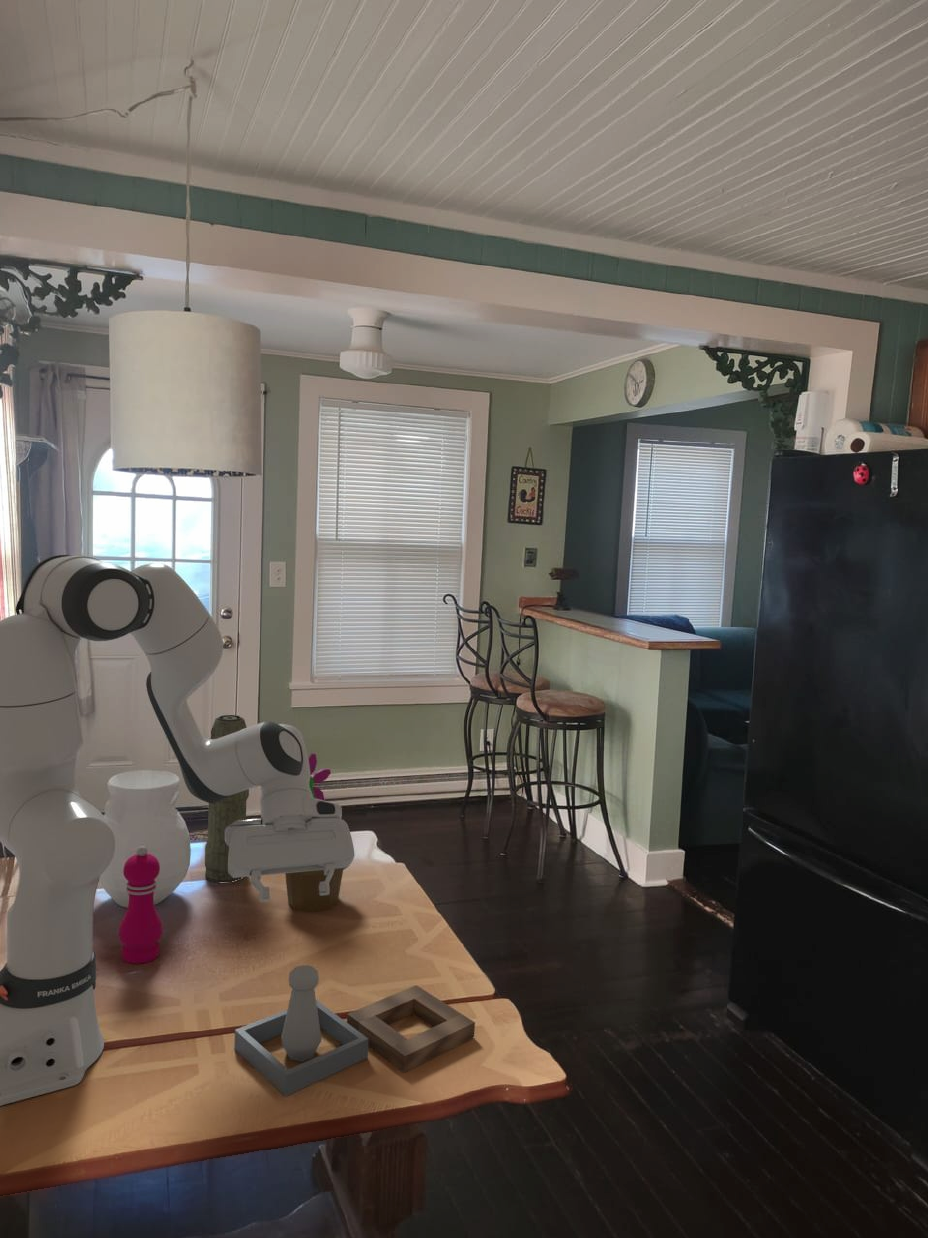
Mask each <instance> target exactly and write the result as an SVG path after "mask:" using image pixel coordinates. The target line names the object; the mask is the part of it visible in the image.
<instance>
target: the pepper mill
mask: <svg viewBox="0 0 928 1238" xmlns="http://www.w3.org/2000/svg"><path fill="white" fill-rule="evenodd" d="M159 871H160V865H159V862H158V860H157V858H156V857H154V856H153V855H151V854H147V848H146V847H145V846H140V847H139V848H138V849H137V854H136V855H133V856H132V857H130V858H129V859H128V860H127V861H126V863H125V865H124V870H123V874H124V877H125V878H126V879H127V880H128V882H127V883H126V886H127V888H126V891H127V892H128V893H129V905H128V908H126V911H125V914H124V916H123V918H122V920H121V922H120V926H119V931H118V939H119V941H120V942H121V943H122V944H123V945H122V946H121V956H120V957H121V959H122V961H124V962H125V963H128V964H131V965H133V964H135V965H137V964H138V965H139V964H144V963H149V962H151V961H153V960H155V959H156V958H158V956H159V954H160V944H159V942H158V941H159V940H160V938H161V937H162V935H163V924H162V920H161V917H160V915H159V914H158V911H157V909H156V908H155V905H154V899H153V895H154V891H155V890H156V888H157V887H156V883H157V881H156V880H155V878H156V877H157V876H158V874H159Z"/></svg>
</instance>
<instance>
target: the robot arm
mask: <svg viewBox="0 0 928 1238" xmlns="http://www.w3.org/2000/svg"><path fill="white" fill-rule="evenodd" d="M23 583H24V584H23V587H22V590H21V591H22V592H21V595H20V596H19V597H18V598H19V599H18V601H17V603H16V605H15V613H16V614H14V615H10V616H8V617H5V618H3V619H1V620H0V843H1V844H2V845H3V846H4V847H5V848H6V849H7V850H8V851H9V852H10V853H11V854H13V856H14V857H15V859H16V862H17V866H18V871H19V873H18V874H19V876H18V877H19V878H18V885H17V889H16V894H15V898H14V902H13V903H12V904H11V905H10V907H9V908H8V911H7V914H6V962H5V963H4V966H2V969H1V970H0V1107H1V1106H4V1105H7V1104H11V1103H15V1102H20V1101H23V1100H25V1099H30V1098H32V1097H37V1096H40V1095H45V1094H48V1093H52V1092H56V1091H59V1090H63V1089H66V1088H67V1089H68V1088H70V1087H75V1086H76V1085H78V1084H79V1083H81V1082H82V1080H83V1078H84V1077H85V1074H86V1071H87V1069H88V1068H89V1067H90V1066H92V1065H93V1064H94V1063H95V1062H96V1061H97V1060H98V1058H99V1057H101V1054H102V1052H103V1050H104V1048H105V1047H104V1046H105V1041H104V1037H103V1036H102V1032H101V1028H100V1025H99V1021H98V1016H97V1010H96V1002H95V992H94V991H95V990H96V986H97V985H96V983H97V982H96V981H97V971H98V970H97V969H98V968H97V961H96V952H95V951H94V950H93V947H94V946H93V943H94V941H93V940H94V935H93V934H94V907H95V900H96V899H95V898H96V894H97V889H98V887H99V886H98V885H99V879H100V875H101V874H102V873H103V872H104V871H105V870H106V869H107V867H108V866H109V864H110V862H111V860H112V858H113V855H114V852H115V837H114V834H113V832H112V830H111V828H110V826H109V824H108V822H107V821H106V819H105V818H104V816H103V815H104V814H102V812H101V811H100V810H99V809H98V808H97V807H95V806H94V805H92V804H91V803H89V802H87V801H86V800H85V799H83V798H82V796H81V795H80V793H79V792H80V791H79V790H78V788H77V787H78V786H77V782H76V776H77V775H76V774H77V773H76V772H77V764H78V763H77V762H78V756H79V752H80V751H81V750H82V748H83V746H84V745H83V744H84V739H83V730H82V722H81V721H82V719H81V714H80V707H79V706H80V705H79V698H78V697H79V696H78V689H77V684H76V676H75V672H74V667H73V666H74V661H75V656H76V655H75V653H76V650H77V649H78V646H79V643H80V642H81V640H82V639H86V640H89V641H93V642H107V641H112V640H113V641H114V640H117V639H120V638H123V637H124V636H126V635H128V634H130V635H132V636H133V637H134V640H135V641H136V642H137V644H138V646H139V647H140V649H141V650H142V651H143V653H144V655H145V656H146V657H147V660H148V662H149V666H150V672H149V673H148V675H147V676H146V680H145V682H146V684H145V685H146V692H147V695H148V698H149V699H148V700H149V702H150V704H151V706H152V709H153V711H154V714H155V716H156V717H157V718H156V719H157V720H158V722H159V724H160V726H161V728H162V731H163V732H164V735H165V736H166V739H167V741H168V743H169V745H170V747H171V749H172V751H173V753H174V756H175V757H176V759H177V762H178V764H179V768H180V771H181V774H182V778H183V781H184V783H185V786H186V788H187V790H188V792H189V793H190V794H191V795H192V796H193V797H195V798H196V799H199V800H201V801H203V802H206V803H207V804H209V803H212V804H213V803H217V802H219V801H221V800H224V799H226V798H228V797H230V796H232V795H234V794H236V793H239V792H242V791H244V790H247V789H249V790H250V789H252V788H255V787H260V790H261V796H260V801H259V803H260V805H259V806H260V818H251V819H246V820H236V821H234V823H231V824H229V825H228V826H227V827H226V829H225V832H224V833H225V842H226V844H227V845H228V846H229V855H228V873H229V874H230V875H231V876H232V877H233V878H238V877H244V878H246V877H247V878H248V877H250V881H251V884H252V886H253V887H254V888H255V890H256V891H257V892H258V896H259V897H258V900H259V902H260V903H261V902H263V903H264V902H269V901H270V899H271V898H270V897H271V894H270V886H264V885H263V883H262V882H261V877H262V876H270V875H271V876H272V875H280V874H281V875H282V874H285V873H293V872H304V871H315V870H324V875H327V877H326V880H325V881H323V882H320V883H319V891H320V892H319V895H320V896H322V895H329V893H330V887H329V882H330V880H331V878H332V875H333V873H334V869H338V868H346V869H347V867H348V868H349V867H350V866H351V864H352V863H353V861H354V859H355V847H354V842H353V839H352V835H351V831H350V828H349V825H348V823H347V822H346V821H345V820H344V819H343V818H342V816H343V808H342V806H341V804H339V803H336V802H332V801H329V800H328V801H327V800H325V799H324V800H320V799H316V798H313V795H312V792H311V790H310V787H309V781H310V766H309V759H308V758H309V756H308V755H309V754H308V750H307V745H306V743H305V740H304V737H303V734H302V732H301V731H300V730H299V729H298V728H296V727H295V726H293V725H291V724H286V723H275V722H273V721H270V720H269V721H268V720H267V721H263V722H259V723H256V724H254V725H251V726H248V727H247V726H246V727H247V728H244V729H242V730H240V731H237V732H235V733H232V734H229V735H226V736H223V737H221V738H218V739H210V738H206V737H204V736H203V735H202V733H201V731H200V728H199V726H198V725H197V722H196V720H195V717H194V715H193V713H192V711H191V709H190V707H189V705H188V700H187V699H189V698H190V696H191V695H192V694H194V692H196V691H197V690H198V689H199V688H200V687H201V686H203V685H204V684H205V683H206V682H207V681H208V680H209V678H210V677H211V676H212V675H213V673H215V671H216V670H217V668H218V666H219V664H220V662H221V659H222V655H223V651H224V638H223V636H222V634H221V631H220V629H219V627H218V625H217V624H216V622H215V620H214V619H213V617H212V616H211V614H210V613H209V611H208V609H207V608H206V606H205V605H204V603H203V602H202V601H201V599H200V598H199V597H198V596H197V594H196V593H195V592H194V590H193V589H192V588H191V586H190V585H188V583H187V582H186V581H185V580H184V579H183V578H182V577H181V575H179V574H178V573H177V572H176V571H175V570H174V569H173V568H172V567H171V566H168V565H166V564H165V563H159V562H152V563H147V564H146V563H145V564H143V565H139V566H137V567H136V568H134V569H132V570H129V569H127V568H124V567H123V566H120V565H117V564H115V563H111V562H105V561H102V560H99V559H97V558H96V557H95V558H94V557H91V556H84V555H72V554H71V555H70V554H59V555H55V556H50V557H48V558H45V559H43V560H41V561H40V562H38V563H37V564H36V565H34V566H33V567H32V568H31V570H30V571H29V572H28V574H27V576H26V578H25V581H24V582H23ZM20 612H21V613H20ZM233 825H234V826H233ZM231 826H233V827H231Z"/></svg>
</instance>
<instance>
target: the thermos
mask: <svg viewBox="0 0 928 1238" xmlns="http://www.w3.org/2000/svg"><path fill="white" fill-rule="evenodd" d="M246 724H247V722H246V720H245V719H244V717H242V716H240V715H234V714H225V715H220V716H218V717H216V718H215V719H214V721H213V725H212V726H211V727H212V728H211V730H210V738H209V739H218V738H221V737H223V736H226V735H229V734H232V733H235V732H237V731H240V730H242V729H244V728H247V725H246ZM249 795H250V789H247V790H244V791H242V792H239V793H236V794H234V795H232V796H230V797H228V798H226V799H224V800H221V801H219V802H217V803H213V804H212V803H208V818H207V819H208V822H207V823H208V824H207V827H208V828H207V841H206V844H205V846H204V867H205V873H204V876H205V879H206V880H207V879H208V881H209V882H211V881H213V882H212V883H215V882H218V883H217V884H220V883H219V882H232V881H235V880H238V879H241V878H242V877H238V878H233V877H232V876H231V875H230V874H229V873H228V855H229V846H228V845H227V844H226V842H225V833H224V832H225V829H226V827H227V826H228V825H229V824H231V823H234V821H236V820H247V800H248V799H249ZM233 826H234V825H233ZM233 826H231V827H233ZM232 883H233V882H232Z"/></svg>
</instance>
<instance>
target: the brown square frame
mask: <svg viewBox="0 0 928 1238" xmlns="http://www.w3.org/2000/svg"><path fill="white" fill-rule="evenodd" d="M413 1014H414V1016H416V1017H418V1018H419V1019H421V1020H423V1021H424V1022H425V1023H427V1024H428V1025H430V1026H432V1027H431V1028H429V1029H426V1030H424V1031H421V1032H420V1033H418V1034H416V1035H414V1036H411V1037H409V1038H407V1037H405V1036H404V1035H402V1034H401V1033H400V1032H399V1031H397V1030H395V1029H394V1028H393V1027H391V1026H390V1025H391V1024H393V1023H395V1022H397V1021H400V1020H401V1019H404V1018H406V1017H408V1016H410V1015H413ZM346 1020H347V1021H346V1022H347V1023H348V1024H349V1025H351V1026H352V1027H353V1028H355V1029H356V1030H357V1031H359V1032H360V1033H361V1034H363V1035H364V1036H365V1037H367V1038H368V1039H369V1041H368V1047H370V1048H371V1049H373V1050H374V1051H375V1052H377V1053H378V1054H379V1055H380V1056H382V1057H383V1058H384V1059H386V1060H387V1061H388V1062H390V1063H391V1064H392V1065H394V1066H395V1067H397V1069H399V1070H400V1071H401V1072H403V1073H406V1072H408V1071H411V1070H412V1069H413V1068H416V1067H418V1066H420V1065H423V1064H424V1063H426V1062H428V1061H430V1060H431V1059H434V1058H435V1057H438V1056H440V1055H442V1054H444V1053H445V1052H446V1053H447V1052H448V1051H450V1050H452V1049H454V1048H456V1047H459V1046H460V1045H462V1044H464V1043H466V1042H469V1041H470V1040H472V1039H474V1038H475V1028H476V1027H475V1025H476V1022H475V1021H474V1020H472V1019H471V1018H468V1017H467V1016H465V1015H464V1014H463V1013H461V1012H460V1011H458V1010H457V1009H454V1008H453V1007H452V1006H450V1005H448V1004H447V1003H446V1002H444V1001H442V1000H440V999H439V998H437V997H435V996H434V995H433V994H431V993H429V992H428V991H426V990H424V988H422V987H420V986H419V985H417V984H415V985H413V986H411V987H409V988H406V989H404V990H401V991H399V992H397V993H394V994H392V995H390V996H386V997H384V998H382V999H379V1000H377V1001H375V1002H372V1003H369V1004H368V1005H365V1006H363V1007H361V1008H358V1009H355V1010H354V1011H352V1012H349V1013H347V1015H346ZM473 1037H474V1038H473ZM469 1039H470V1040H469Z"/></svg>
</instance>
